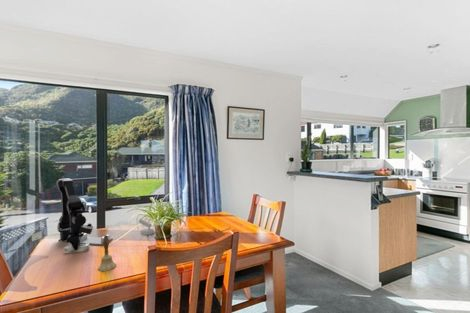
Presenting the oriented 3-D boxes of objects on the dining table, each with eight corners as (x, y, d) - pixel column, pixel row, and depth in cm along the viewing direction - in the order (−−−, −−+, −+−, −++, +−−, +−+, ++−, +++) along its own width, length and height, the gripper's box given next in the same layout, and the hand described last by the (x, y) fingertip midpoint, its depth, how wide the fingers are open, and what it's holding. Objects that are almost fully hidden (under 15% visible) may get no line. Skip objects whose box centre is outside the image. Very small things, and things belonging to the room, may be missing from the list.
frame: (64, 253, 152) (64, 248, 152) (66, 251, 156) (66, 245, 156) (88, 250, 156) (87, 245, 156) (89, 248, 160) (89, 243, 160)
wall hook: (142, 216, 191) (155, 217, 189) (142, 230, 191) (155, 230, 189) (135, 220, 182) (149, 221, 180) (136, 234, 183) (149, 235, 181)
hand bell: (95, 267, 135) (94, 235, 134) (112, 262, 141) (111, 231, 140) (101, 272, 129) (99, 240, 128) (118, 267, 135) (117, 235, 134)
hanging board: (74, 243, 167) (74, 237, 167) (86, 238, 177) (86, 232, 176) (102, 245, 163) (101, 239, 163) (112, 239, 173) (112, 233, 173)
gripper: (88, 225, 149) (89, 253, 150) (94, 216, 167) (95, 241, 168) (65, 227, 146) (66, 256, 146) (73, 218, 163) (74, 244, 164)
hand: (77, 248), depth 156 cm, fingers closed on frame, 4 cm apart
